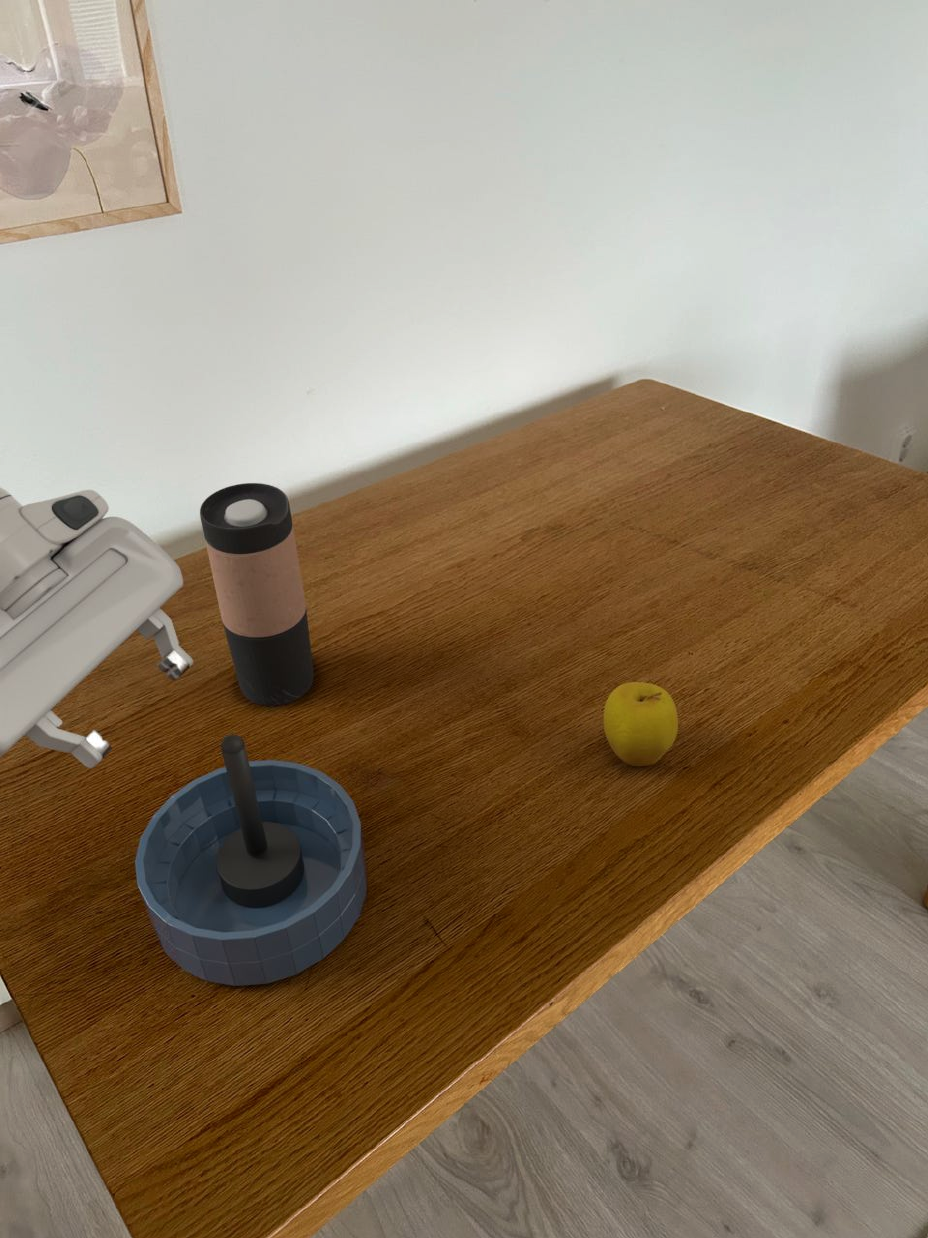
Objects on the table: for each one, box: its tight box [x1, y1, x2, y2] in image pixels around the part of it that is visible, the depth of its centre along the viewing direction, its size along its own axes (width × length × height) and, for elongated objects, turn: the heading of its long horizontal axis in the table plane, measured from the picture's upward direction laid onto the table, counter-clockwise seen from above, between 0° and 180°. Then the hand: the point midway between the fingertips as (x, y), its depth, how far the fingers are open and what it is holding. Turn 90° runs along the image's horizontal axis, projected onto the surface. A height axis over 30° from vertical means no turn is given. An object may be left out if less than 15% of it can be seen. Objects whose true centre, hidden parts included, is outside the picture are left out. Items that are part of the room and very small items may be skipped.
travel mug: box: [199, 482, 314, 707], centre depth 89 cm, size 8×8×20 cm
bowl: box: [134, 759, 368, 987], centre depth 74 cm, size 16×16×6 cm
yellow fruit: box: [603, 681, 679, 767], centre depth 84 cm, size 6×6×8 cm
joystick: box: [216, 733, 304, 908], centre depth 72 cm, size 6×6×15 cm
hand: (145, 713), depth 69 cm, fingers open, 8 cm apart
